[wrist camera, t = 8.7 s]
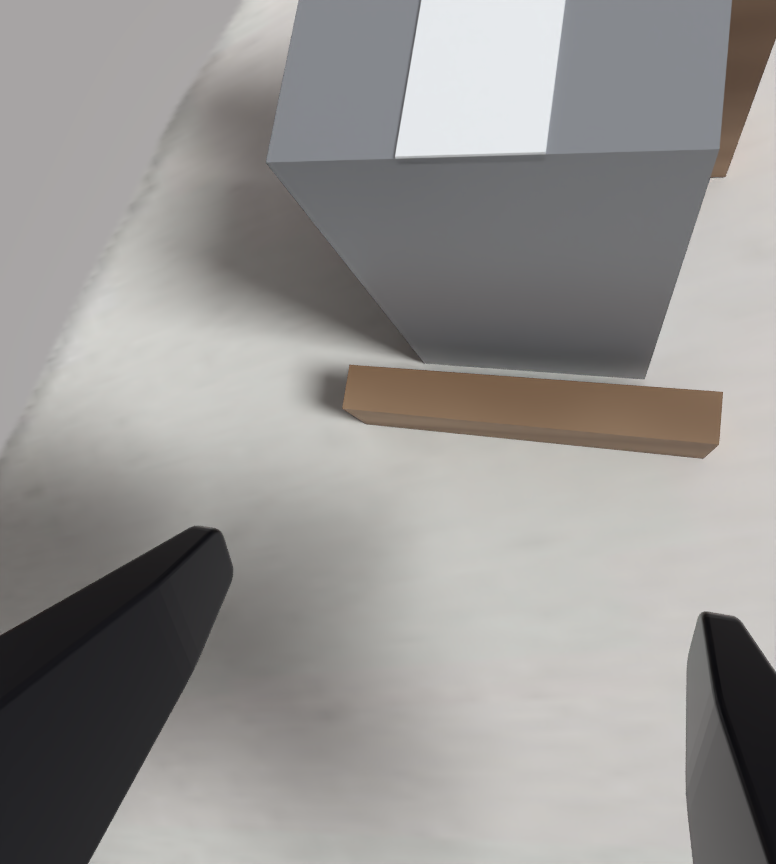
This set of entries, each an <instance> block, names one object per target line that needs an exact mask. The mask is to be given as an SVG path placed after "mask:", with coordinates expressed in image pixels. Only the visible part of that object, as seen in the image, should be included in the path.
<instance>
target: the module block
mask: <svg viewBox="0 0 776 864" xmlns="http://www.w3.org/2000/svg"><path fill="white" fill-rule="evenodd" d="M731 6H732V0H299V1H298V6H297V11H296V16H295V21H294V26H293V31H292V36H291V41H290V46H289V51H288V56H287V61H286V66H285V70H284V75H283V80H282V85H281V90H280V95H279V100H278V105H277V110H276V115H275V120H274V125H273V130H272V135H271V140H270V145H269V149H268V154H267V159H266V163H267V165H268V166H269V167H270V168H271V170H272V171H273V172H274V174H275V175H276V176H277V177H278V179H279V180H280V181H281V182H282V184H283V185H284V186H285V187H286V189H287V190H288V191H289V193H290V194H291V195H292V196H293V198H294V199H295V200H296V201H297V203H298V204H299V205H300V206H301V208H302V209H303V210H304V211H305V213H306V214H307V215H308V217H309V218H310V219H311V220H312V222H313V223H314V224H315V225H316V227H317V228H318V229H319V230H320V232H321V233H322V234H323V236H324V237H325V238H326V239H327V241H328V242H329V243H330V244H331V246H332V247H333V248H334V249H335V251H336V252H337V253H338V255H339V256H340V257H341V258H342V260H343V261H344V262H345V263H346V265H347V266H348V267H349V268H350V270H351V271H352V272H353V274H354V275H355V276H356V277H357V279H358V280H359V281H360V282H361V284H362V285H363V286H364V287H365V289H366V290H367V291H368V293H369V294H370V295H371V296H372V298H373V299H374V300H375V301H376V303H377V304H378V305H379V306H380V308H381V309H382V310H383V312H384V313H385V314H386V315H387V317H388V318H389V319H390V320H391V322H392V323H393V324H394V325H395V327H396V328H397V329H398V331H399V332H400V333H401V334H402V336H403V337H404V338H405V339H406V341H407V342H408V343H409V344H410V346H411V347H412V348H413V350H414V351H415V352H416V353H417V355H418V356H419V357H420V358H421V360H422V361H423V362H424V363H425V364H439V365H453V366H467V367H481V368H494V369H508V370H522V371H536V372H550V373H564V374H578V375H591V376H605V377H619V378H633V379H645V377H646V374H647V371H648V367H649V364H650V361H651V358H652V355H653V352H654V349H655V346H656V343H657V340H658V337H659V334H660V331H661V328H662V324H663V321H664V318H665V315H666V312H667V309H668V306H669V303H670V300H671V297H672V294H673V291H674V288H675V284H676V281H677V278H678V275H679V272H680V269H681V266H682V263H683V260H684V257H685V254H686V251H687V248H688V244H689V241H690V238H691V235H692V232H693V229H694V226H695V223H696V220H697V217H698V214H699V211H700V208H701V204H702V201H703V198H704V195H705V192H706V189H707V186H708V183H709V180H710V177H711V174H712V171H713V168H714V164H715V161H716V158H717V155H718V152H719V149H720V137H721V125H722V113H723V101H724V89H725V77H726V66H727V54H728V42H729V30H730V18H731Z"/></svg>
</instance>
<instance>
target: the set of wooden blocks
mask: <svg viewBox="0 0 776 864" xmlns="http://www.w3.org/2000/svg"><path fill="white" fill-rule="evenodd" d="M775 39H776V0H732V6H731V18H730V30H729V42H728V54H727V66H726V77H725V89H724V101H723V113H722V125H721V137H720V149H719V152H718V155H717V158H716V161H715V164H714V168H713V171H712V174H711V177H726V174H727V171H728V168H729V166H730V163H731V160H732V157H733V155H734V152H735V149H736V146H737V144H738V141H739V138H740V135H741V133H742V130H743V127H744V124H745V122H746V119H747V116H748V113H749V111H750V108H751V105H752V102H753V100H754V97H755V94H756V91H757V89H758V86H759V83H760V80H761V78H762V75H763V72H764V70H765V67H766V64H767V61H768V59H769V56H770V53H771V50H772V48H773V45H774V42H775ZM722 398H723V392H716V391H702V390H688V389H675V388H661V387H647V386H633V385H620V384H606V383H592V382H578V381H565V380H551V379H537V378H523V377H510V376H496V375H482V374H468V373H455V372H441V371H427V370H413V369H400V368H386V367H372V366H358V365H349V371H348V377H347V383H346V389H345V395H344V401H343V407H342V409H344V410H345V411H347V412H348V413H350V414H351V415H353V416H354V417H356V418H357V419H359V420H361V421H362V422H364V423H365V424H370V425H379V426H389V427H399V428H409V429H419V430H428V431H438V432H448V433H458V434H467V435H477V436H487V437H497V438H507V439H516V440H526V441H536V442H546V443H556V444H565V445H575V446H585V447H595V448H604V449H614V450H624V451H634V452H644V453H653V454H663V455H673V456H683V457H693V458H702V459H703V458H705V457H706V456H707V455H708V454H709V453H710V452H711V451H712V450H713V449H715V448H716V447H717V446H718V445H719V438H720V425H721V412H722Z"/></svg>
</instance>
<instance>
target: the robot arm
mask: <svg viewBox="0 0 776 864" xmlns="http://www.w3.org/2000/svg"><path fill="white" fill-rule="evenodd" d="M232 577H233V565H232V562H231V558H230V555H229V552H228V549H227V546H226V542H225V539H224V536H223V534H222V533H221V531H220V530H218V529H216V528H210V527H204V526H193V527H191V528H188V529H187V530H185V531H183V532H181V533H180V534H178V535H176V536H174V537H173V538H171V539H169V540H167V541H166V542H164V543H162V544H160V545H159V546H157V547H155V548H153V549H152V550H150V551H148V552H146V553H145V554H143V555H141V556H139V557H138V558H136V559H134V560H132V561H131V562H129V563H127V564H125V565H123V566H122V567H120V568H118V569H116V570H115V571H113V572H111V573H109V574H108V575H106V576H104V577H102V578H101V579H99V580H97V581H95V582H94V583H92V584H90V585H88V586H87V587H85V588H83V589H81V590H80V591H78V592H76V593H74V594H73V595H71V596H69V597H67V598H66V599H64V600H62V601H60V602H59V603H57V604H55V605H53V606H52V607H50V608H48V609H46V610H44V611H43V612H41V613H39V614H37V615H36V616H34V617H32V618H30V619H29V620H27V621H25V622H23V623H22V624H20V625H18V626H16V627H15V628H13V629H11V630H9V631H8V632H6V633H4V634H2V635H1V636H0V864H88V863H89V861H90V859H91V857H92V856H93V854H94V852H95V850H96V848H97V847H98V845H99V843H100V841H101V839H102V837H103V836H104V834H105V832H106V830H107V828H108V826H109V825H110V823H111V821H112V819H113V817H114V815H115V814H116V812H117V810H118V808H119V806H120V805H121V803H122V801H123V799H124V797H125V795H126V794H127V792H128V790H129V788H130V786H131V784H132V783H133V781H134V779H135V777H136V775H137V773H138V772H139V770H140V768H141V766H142V764H143V763H144V761H145V759H146V757H147V755H148V753H149V752H150V750H151V748H152V746H153V744H154V742H155V741H156V739H157V737H158V735H159V733H160V732H161V730H162V728H163V726H164V724H165V722H166V721H167V719H168V717H169V715H170V713H171V711H172V710H173V708H174V706H175V704H176V702H177V700H178V699H179V697H180V695H181V693H182V691H183V690H184V688H185V686H186V684H187V682H188V680H189V678H190V676H191V674H192V672H193V670H194V668H195V666H196V664H197V662H198V660H199V657H200V655H201V653H202V650H203V648H204V646H205V643H206V641H207V639H208V636H209V634H210V632H211V629H212V627H213V624H214V622H215V620H216V617H217V615H218V613H219V610H220V608H221V606H222V603H223V601H224V598H225V596H226V594H227V591H228V589H229V587H230V584H231V581H232ZM686 799H687V812H688V822H689V831H690V840H691V849H692V857H693V864H776V672H775V670H774V669H773V667H772V666H771V664H770V663H769V661H768V660H767V659H766V657H765V656H764V654H763V653H762V651H761V650H760V648H759V647H758V645H757V644H756V642H755V641H754V639H753V638H752V636H751V635H750V634H749V632H748V631H747V629H746V628H745V626H744V625H743V623H742V622H741V621H740V620H739V619H738V618H736V617H734V616H730V615H724V614H719V613H713V612H702V613H701V614H700V615H699V617H698V619H697V623H696V627H695V631H694V635H693V638H692V642H691V646H690V650H689V654H688V661H687V687H686Z"/></svg>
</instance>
